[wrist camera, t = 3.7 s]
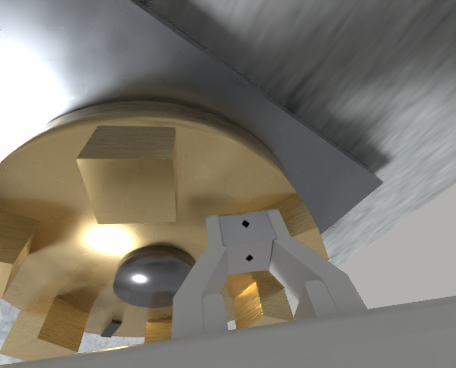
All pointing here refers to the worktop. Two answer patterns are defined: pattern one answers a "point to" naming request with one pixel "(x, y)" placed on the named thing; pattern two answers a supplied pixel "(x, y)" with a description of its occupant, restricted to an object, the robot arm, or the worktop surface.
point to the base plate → (155, 88)
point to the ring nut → (131, 222)
